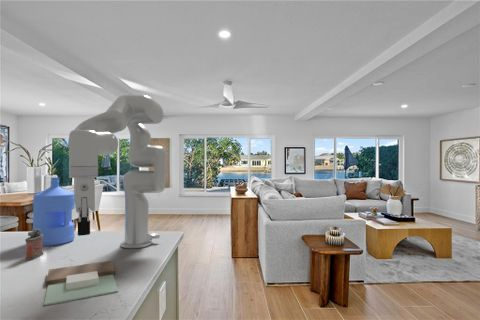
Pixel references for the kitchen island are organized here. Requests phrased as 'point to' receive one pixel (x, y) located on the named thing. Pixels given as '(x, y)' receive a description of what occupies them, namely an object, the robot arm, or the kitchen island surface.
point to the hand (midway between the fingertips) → (83, 234)
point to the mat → (79, 291)
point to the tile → (82, 280)
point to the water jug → (54, 214)
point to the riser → (79, 271)
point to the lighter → (34, 245)
